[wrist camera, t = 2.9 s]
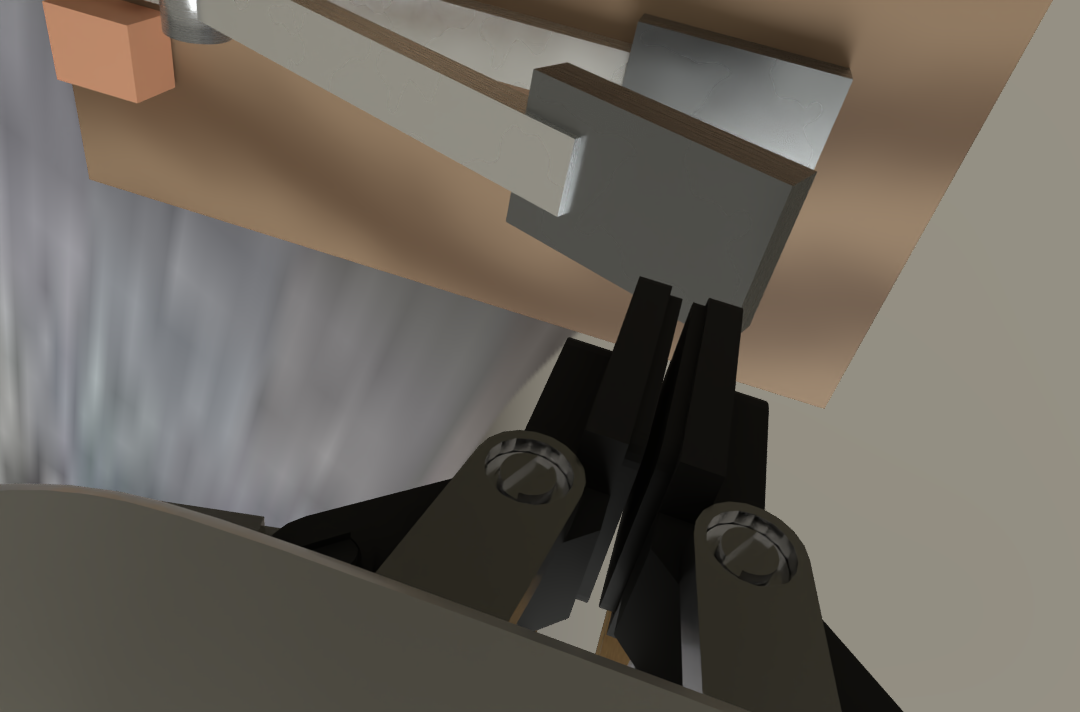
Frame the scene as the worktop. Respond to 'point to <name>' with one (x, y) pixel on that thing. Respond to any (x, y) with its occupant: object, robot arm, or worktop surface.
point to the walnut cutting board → (481, 205)
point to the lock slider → (110, 47)
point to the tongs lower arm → (640, 66)
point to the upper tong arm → (549, 149)
